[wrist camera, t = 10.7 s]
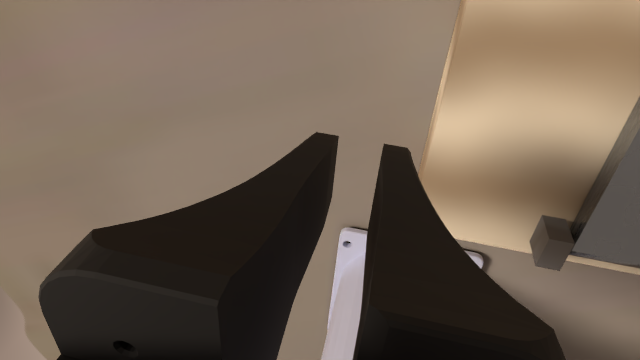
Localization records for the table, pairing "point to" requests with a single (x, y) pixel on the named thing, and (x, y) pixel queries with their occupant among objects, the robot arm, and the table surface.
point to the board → (530, 119)
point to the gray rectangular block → (613, 204)
